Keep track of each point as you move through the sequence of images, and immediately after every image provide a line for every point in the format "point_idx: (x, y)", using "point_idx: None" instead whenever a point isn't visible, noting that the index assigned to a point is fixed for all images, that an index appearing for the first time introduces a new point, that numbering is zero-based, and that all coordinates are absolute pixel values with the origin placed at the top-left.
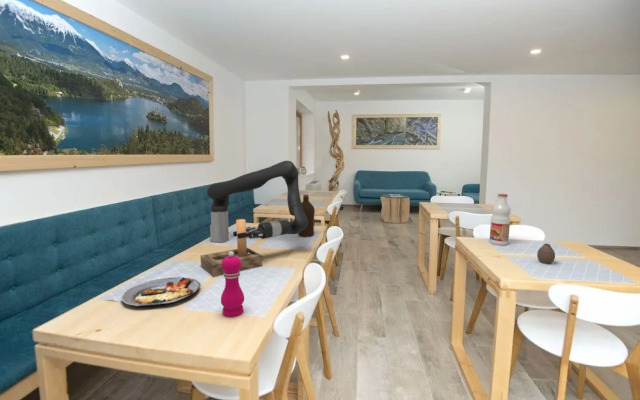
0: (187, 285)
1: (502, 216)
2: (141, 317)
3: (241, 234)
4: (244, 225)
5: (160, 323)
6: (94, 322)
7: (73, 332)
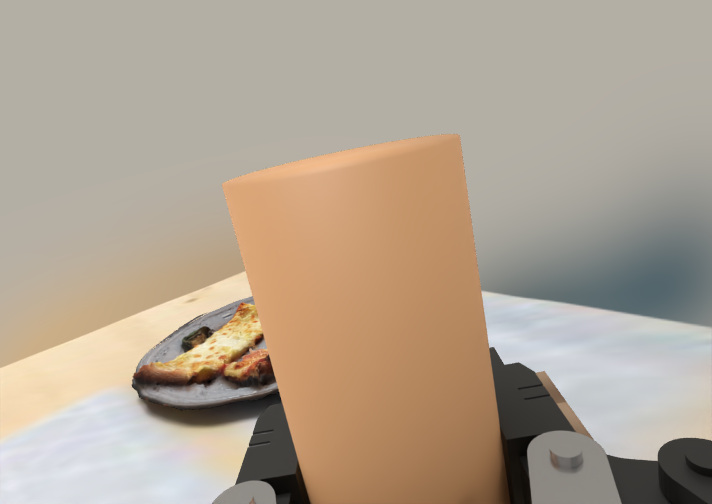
0: (249, 383)
1: None
2: (169, 332)
3: (264, 427)
4: (261, 318)
5: (96, 358)
6: (231, 291)
7: (220, 283)
